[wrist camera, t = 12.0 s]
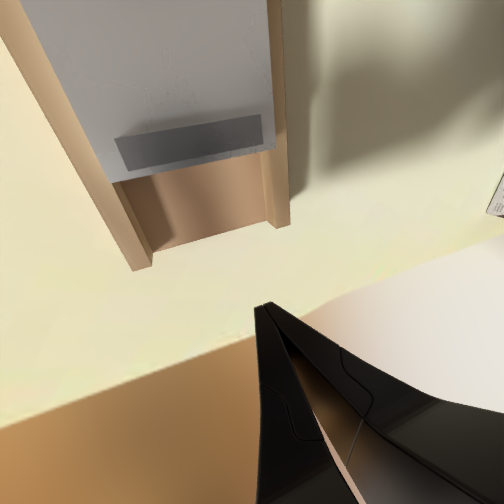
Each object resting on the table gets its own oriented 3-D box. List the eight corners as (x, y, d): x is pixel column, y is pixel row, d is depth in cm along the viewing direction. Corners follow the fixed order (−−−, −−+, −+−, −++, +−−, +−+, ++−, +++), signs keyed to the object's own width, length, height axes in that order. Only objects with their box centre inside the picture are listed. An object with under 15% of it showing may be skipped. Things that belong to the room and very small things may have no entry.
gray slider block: (231, -36, 8) (271, -129, 5) (253, 143, 12) (284, 150, 9) (30, -35, 7) (-76, -164, 4) (122, 170, 10) (104, 188, 7)
